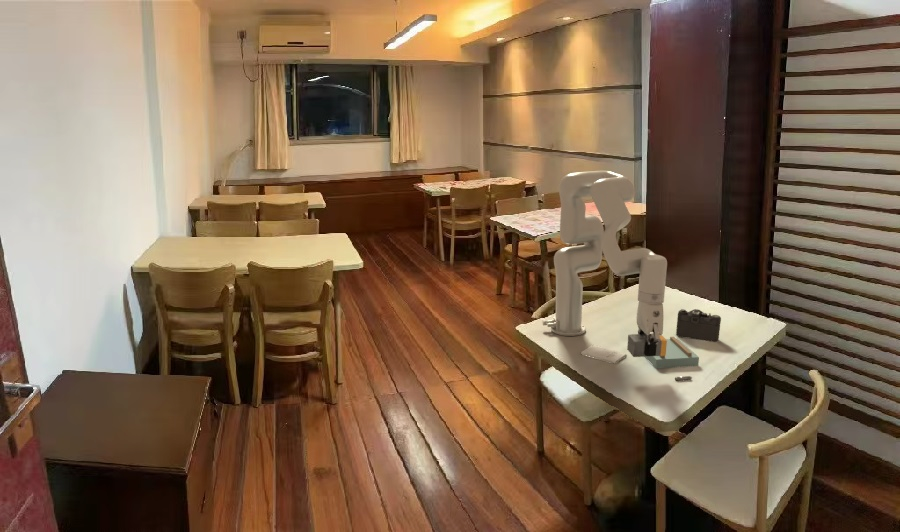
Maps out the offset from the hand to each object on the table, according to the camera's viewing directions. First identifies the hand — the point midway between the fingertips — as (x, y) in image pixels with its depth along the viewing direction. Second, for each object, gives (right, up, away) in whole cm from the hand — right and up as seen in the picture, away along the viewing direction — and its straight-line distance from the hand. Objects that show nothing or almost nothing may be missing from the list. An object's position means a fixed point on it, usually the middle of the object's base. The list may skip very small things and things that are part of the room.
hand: (646, 350), depth 196 cm
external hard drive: (-9, -5, +18) cm, 20 cm away
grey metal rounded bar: (+11, -9, -2) cm, 14 cm away
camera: (+29, +1, +33) cm, 44 cm away
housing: (0, -1, 0) cm, 1 cm away
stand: (+11, -4, +15) cm, 19 cm away
